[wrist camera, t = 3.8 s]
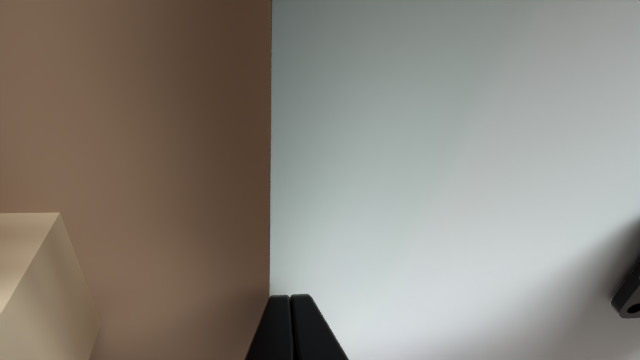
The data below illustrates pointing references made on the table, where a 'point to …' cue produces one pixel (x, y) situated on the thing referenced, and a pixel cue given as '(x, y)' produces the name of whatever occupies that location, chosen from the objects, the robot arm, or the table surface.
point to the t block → (42, 292)
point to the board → (147, 161)
